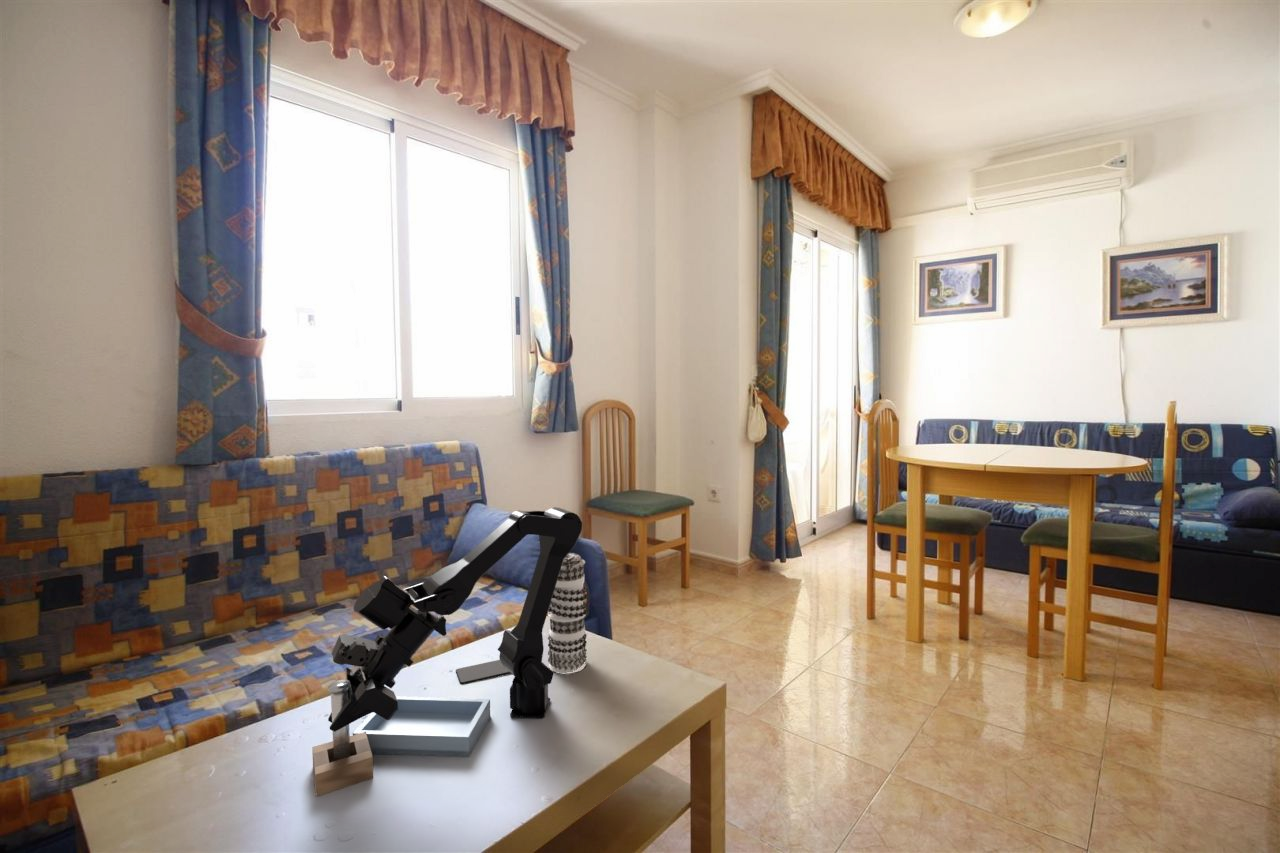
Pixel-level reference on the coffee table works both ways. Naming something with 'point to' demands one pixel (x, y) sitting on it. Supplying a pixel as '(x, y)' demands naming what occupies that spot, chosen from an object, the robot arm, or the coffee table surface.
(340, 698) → the metal pin
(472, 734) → the tray
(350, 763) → the pin block
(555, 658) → the decorative candle
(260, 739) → the coffee table surface
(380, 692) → the robot arm
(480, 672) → the smartphone
